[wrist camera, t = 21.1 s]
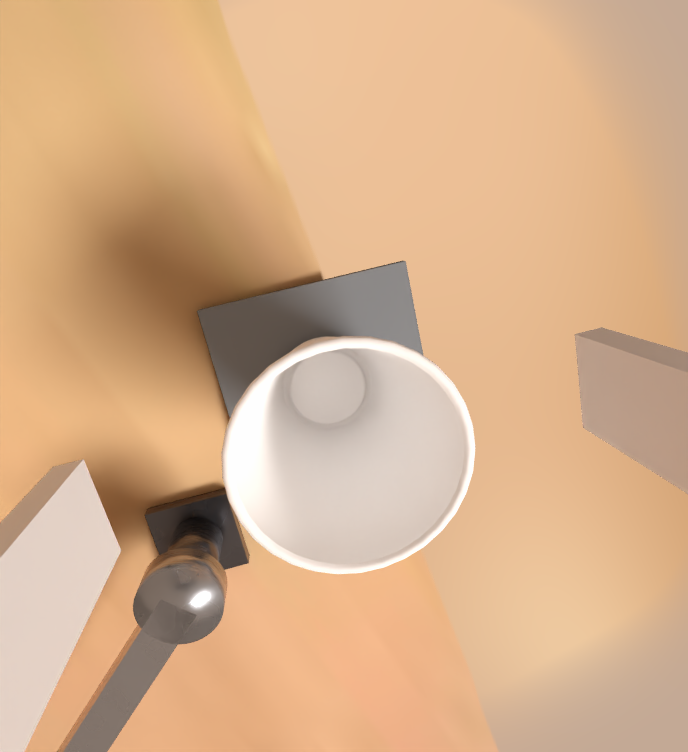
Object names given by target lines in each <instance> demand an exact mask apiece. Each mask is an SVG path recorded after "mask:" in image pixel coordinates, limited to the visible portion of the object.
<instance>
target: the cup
mask: <svg viewBox="0 0 688 752" xmlns="http://www.w3.org/2000/svg"><path fill="white" fill-rule="evenodd" d="M474 455H475V441H474V432H473V424H472V421H471V418H470V415H469V412H468V409H467V407H466V404H465V402H464V400H463V398H462V397H461V395H460V393H459V392H458V390H457V388H456V386H455V385H454V383H453V382H452V381H451V380H450V379H449V378H448V377H447V376H446V375H445V373H444V372H443V371H442V370H441V369H440V368H439V367H438V366H437V365H436V364H434V363H433V362H431V361H430V360H429V359H427V358H426V357H424V356H423V355H422V354H420V353H419V352H417V351H415V350H413V349H410V348H408V347H406V346H403V345H401V344H399V343H396V342H394V341H389V340H384V339H379V338H374V337H370V336H341V337H319V338H313V339H311V340H308V341H306V342H303V343H302V344H300V345H299V346H297V347H296V348H294V349H293V350H292V351H291V352H289V353H288V354H286V355H285V356H283V357H282V358H280V359H279V360H277V361H276V362H274V363H272V364H271V365H269V366H268V367H267V368H266V369H265V370H264V371H263V372H262V373H261V374H260V375H259V376H258V377H257V378H256V379H255V380H254V381H253V382H252V383H251V384H250V385H249V386H248V388H247V389H246V391H245V392H244V394H243V395H242V397H241V398H240V400H239V401H238V403H237V404H236V406H235V408H234V410H233V413H232V415H231V418H230V420H229V423H228V425H227V427H226V431H225V437H224V442H223V448H222V478H223V482H224V485H225V489H226V493H227V497H228V500H229V502H230V504H231V506H232V508H233V510H234V512H235V514H236V516H237V518H238V520H239V522H240V523H241V524H242V525H243V527H244V528H245V529H246V530H247V531H248V533H249V534H250V535H251V536H252V538H253V539H254V540H255V541H257V542H258V543H259V544H260V545H262V546H263V547H264V548H265V549H267V550H268V551H269V552H270V553H271V554H273V555H275V556H277V557H279V558H281V559H283V560H285V561H286V562H288V563H290V564H292V565H295V566H299V567H302V568H305V569H308V570H312V571H316V572H324V573H333V574H347V573H362V572H366V571H370V570H375V569H379V568H383V567H386V566H388V565H391V564H393V563H396V562H398V561H400V560H403V559H405V558H407V557H408V556H410V555H411V554H413V553H415V552H416V551H418V550H419V549H421V548H423V547H424V546H425V545H427V544H428V543H429V542H430V541H431V540H432V539H433V538H434V537H435V536H437V535H438V534H439V533H440V532H441V531H442V530H443V529H444V527H445V526H446V525H447V523H448V522H449V521H450V520H451V518H452V517H453V516H454V514H455V513H456V511H457V510H458V508H459V506H460V504H461V502H462V500H463V498H464V496H465V494H466V492H467V489H468V485H469V482H470V479H471V476H472V472H473V466H474Z"/></svg>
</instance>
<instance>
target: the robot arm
mask: <svg viewBox="0 0 688 752" xmlns="http://www.w3.org/2000/svg"><path fill="white" fill-rule="evenodd" d="M575 341H576V352H577V364H578V375H579V386H580V398H581V409H582V420H583V428H585V429H586V430H588V431H589V432H591V433H592V434H594V435H596V436H597V437H599V438H600V439H602V440H604V441H605V442H607V443H608V444H610V445H612V446H613V447H615V448H616V449H618V450H619V451H621V452H623V453H624V454H626V455H627V456H629V457H631V458H632V459H633V460H635V461H637V462H638V463H640V464H641V465H643V466H645V467H646V468H648V469H650V470H651V471H652V472H654V473H656V474H657V475H659V476H660V477H662V478H664V479H665V480H667V481H668V482H670V483H671V484H673V485H675V486H676V487H678V488H679V489H681V490H683V491H684V492H686V493H687V494H688V353H687V352H683V351H680V350H677V349H673V348H670V347H667V346H663V345H660V344H656V343H653V342H649V341H646V340H643V339H639V338H636V337H632V336H629V335H626V334H622V333H619V332H615V331H612V330H608V329H605V328H598V329H594V330H590V331H586V332H582V333H578V334H575ZM120 552H121V549H120V547H119V544H118V542H117V539H116V537H115V534H114V532H113V530H112V527H111V525H110V522H109V520H108V517H107V515H106V513H105V510H104V508H103V505H102V503H101V500H100V498H99V496H98V493H97V491H96V488H95V486H94V483H93V481H92V479H91V476H90V474H89V471H88V469H87V466H86V464H85V462H84V459H82V460H78V461H74V462H70V463H66V464H63V465H59V466H55V467H52V468H51V469H50V471H49V472H48V473H47V474H46V475H45V476H44V477H43V478H42V479H41V480H40V481H39V482H38V483H37V484H36V485H35V486H34V487H33V489H32V490H31V491H30V492H29V493H28V494H27V495H26V496H25V497H24V498H23V499H22V500H21V501H20V502H19V503H18V504H17V506H16V507H15V508H14V509H13V510H12V511H11V512H10V513H9V514H8V515H7V516H6V517H5V518H4V519H3V520H2V521H1V522H0V752H24V751H25V749H26V747H27V745H28V743H29V741H30V739H31V737H32V735H33V733H34V731H35V729H36V726H37V724H38V722H39V720H40V718H41V716H42V714H43V712H44V710H45V708H46V706H47V704H48V702H49V699H50V697H51V695H52V693H53V691H54V689H55V687H56V685H57V683H58V681H59V679H60V677H61V675H62V672H63V670H64V668H65V666H66V664H67V662H68V660H69V658H70V656H71V654H72V652H73V650H74V648H75V645H76V643H77V641H78V639H79V637H80V635H81V633H82V631H83V629H84V627H85V625H86V623H87V621H88V618H89V616H90V614H91V612H92V610H93V608H94V606H95V604H96V602H97V600H98V598H99V596H100V594H101V591H102V589H103V587H104V585H105V583H106V581H107V579H108V577H109V575H110V573H111V571H112V569H113V567H114V564H115V562H116V560H117V558H118V556H119V554H120Z"/></svg>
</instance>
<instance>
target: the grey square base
mask: <svg viewBox="0 0 688 752" xmlns="http://www.w3.org/2000/svg"><path fill="white" fill-rule="evenodd" d="M145 518H146V520H147V523H148V526H149V528H150V531H151V534H152V536H153V539H154V542H155V544H156V547H157V550H158V552H159V555H161V554H163V553H165V552H167V551H170V550H174V549H179V548H192V549H197V550H201V551H203V552H206V553H208V554H210V555H211V556H213V557H214V558H215V559H216V560H217V561H218V562H219V563H220V564H221V565H222V567H223V569H224V570H225V569H228V568H232V567H236V566H240V565H243V564H247V563H249V553H248V550H247V547H246V544H245V541H244V537H243V534H242V531H241V528H240V525H239V522H238V519H237V516H236V514H235V512H234V510H233V508H232V506H231V504H230V502H229V500H228V497H227V493H226V489H221V490H217V491H213V492H210V493H206V494H202V495H198V496H194V497H191V498H187V499H183V500H179V501H175V502H171V503H168V504H164V505H160V506H156V507H152V508H148V509H147V511H146V513H145Z"/></svg>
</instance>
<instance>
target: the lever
mask: <svg viewBox="0 0 688 752" xmlns="http://www.w3.org/2000/svg"><path fill="white" fill-rule="evenodd" d="M226 591H227V577H226V573H225V571H224V569H223V567H222V565H221V564H220V563H219V562H218V561H217V560H216V559H215V558H214V557H213V556H211V555H210V554H208V553H206V552H203V551H201V550H197V549H192V548H179V549H174V550H170V551H167V552H165V553H163V554H161V555H160V556H158V557H157V558H156V559H154V560H153V561H152V562H151V563H150V565H149V566H148V567H147V569H146V571H145V574H144V576H143V578H142V581H141V583H140V586H139V588H138V590H137V593H136V596H135V598H134V603H133V611H134V616H135V619H136V621H137V623H138V625H137V627H136V628H135V630H134V632H133V633H132V635H131V636H130V638H129V639H128V641H127V642H126V644H125V646H124V647H123V649H122V650H121V652H120V653H119V655H118V657H117V658H116V660H115V661H114V663H113V664H112V666H111V668H110V669H109V671H108V672H107V674H106V675H105V677H104V679H103V680H102V682H101V683H100V685H99V686H98V688H97V690H96V691H95V693H94V694H93V696H92V697H91V699H90V701H89V702H88V704H87V705H86V707H85V708H84V710H83V712H82V713H81V715H80V716H79V718H78V719H77V721H76V723H75V724H74V726H73V727H72V729H71V730H70V732H69V733H68V735H67V737H66V738H65V740H64V741H63V743H62V744H61V746H60V748H59V749H58V751H57V752H107V751H108V750H109V748H110V747H111V745H112V744H113V742H114V741H115V739H116V738H117V736H118V735H119V733H120V731H121V730H122V728H123V727H124V725H125V724H126V722H127V721H128V719H129V718H130V716H131V715H132V713H133V712H134V710H135V709H136V707H137V706H138V704H139V703H140V701H141V700H142V698H143V696H144V695H145V693H146V692H147V690H148V689H149V687H150V686H151V684H152V683H153V681H154V680H155V678H156V677H157V675H158V674H159V672H160V671H161V669H162V668H163V666H164V665H165V663H166V662H167V660H168V658H169V657H170V655H171V654H172V652H173V651H174V649H175V648H176V646H177V645H178V644H187V643H192V642H195V641H198V640H200V639H202V638H204V637H205V636H207V635H208V634H210V633H211V632H212V631H213V630H214V629H215V628H216V626H217V625H218V624H219V622H220V620H221V618H222V615H223V610H224V604H225V597H226Z"/></svg>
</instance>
